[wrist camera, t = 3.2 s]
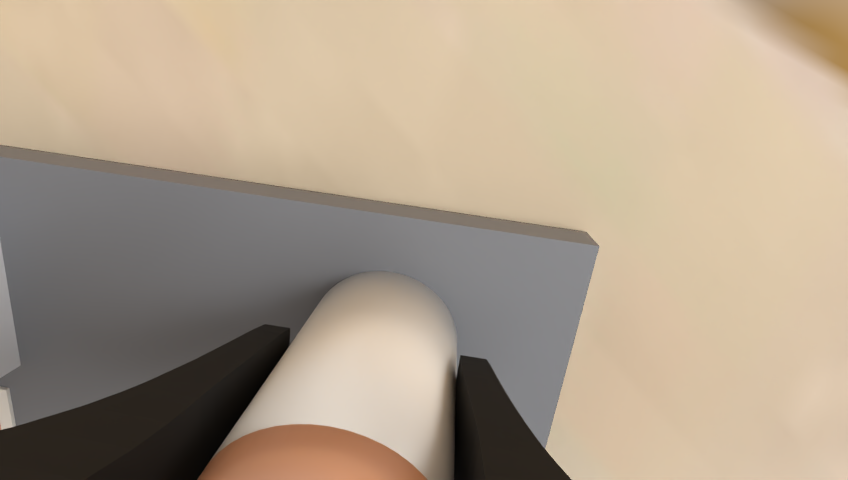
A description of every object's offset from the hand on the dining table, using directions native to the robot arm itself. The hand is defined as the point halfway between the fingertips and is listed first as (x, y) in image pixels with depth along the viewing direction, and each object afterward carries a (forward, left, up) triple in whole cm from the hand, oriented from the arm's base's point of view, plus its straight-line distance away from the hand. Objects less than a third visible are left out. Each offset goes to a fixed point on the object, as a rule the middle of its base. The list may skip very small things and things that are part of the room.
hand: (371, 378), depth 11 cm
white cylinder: (0, 0, -2) cm, 2 cm away
